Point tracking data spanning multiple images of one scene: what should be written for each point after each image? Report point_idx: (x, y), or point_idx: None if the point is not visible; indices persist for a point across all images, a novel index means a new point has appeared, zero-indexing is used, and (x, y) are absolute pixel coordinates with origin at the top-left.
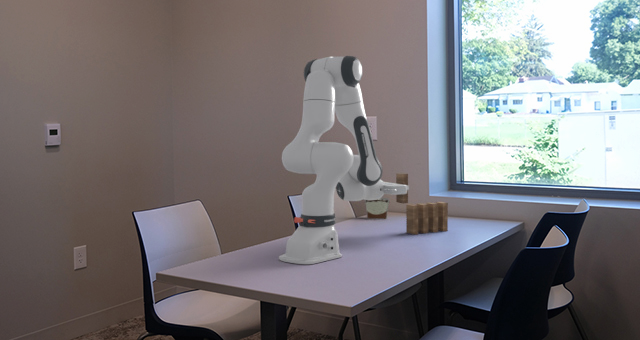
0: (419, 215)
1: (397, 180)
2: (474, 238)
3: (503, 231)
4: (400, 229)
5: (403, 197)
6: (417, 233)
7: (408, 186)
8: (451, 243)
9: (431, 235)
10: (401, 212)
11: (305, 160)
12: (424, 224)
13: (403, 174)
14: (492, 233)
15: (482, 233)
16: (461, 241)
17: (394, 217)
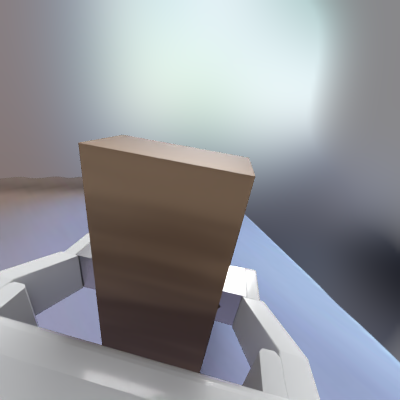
0: None
1: (113, 233)
2: (306, 297)
3: (258, 227)
4: (87, 338)
5: (201, 363)
6: None
7: (253, 278)
8: None
9: (232, 345)
10: (15, 189)
11: None
12: None
13: (252, 179)
14: (267, 244)
15: (261, 252)
16: (344, 353)
17: (7, 221)
